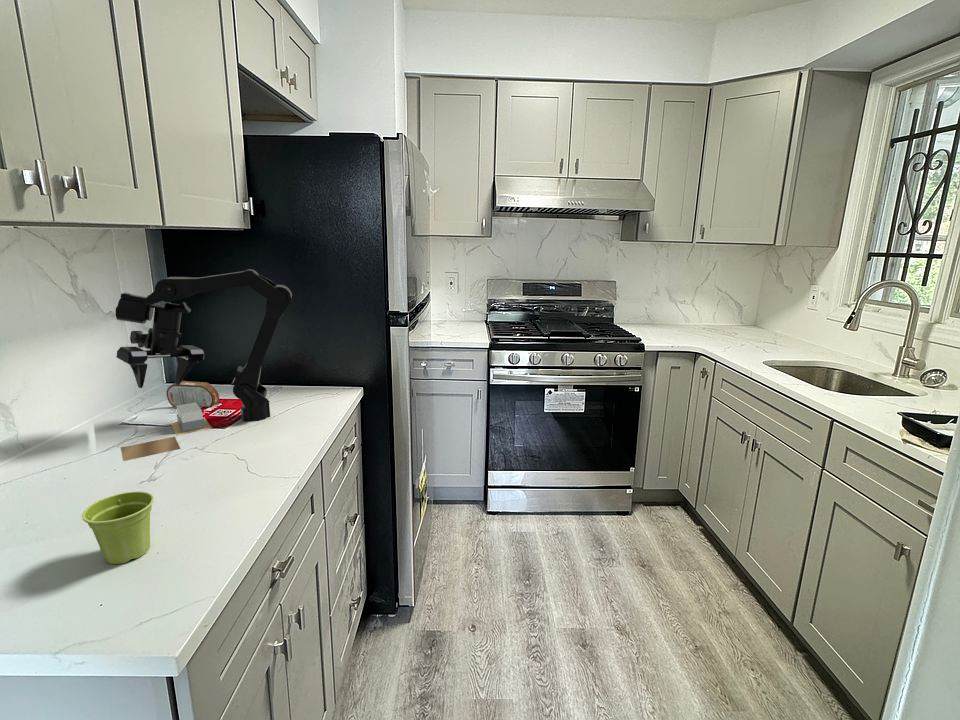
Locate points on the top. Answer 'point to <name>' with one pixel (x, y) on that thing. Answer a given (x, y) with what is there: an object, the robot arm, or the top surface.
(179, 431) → the oak stand
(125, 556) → the plant pot
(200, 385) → the tin
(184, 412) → the block
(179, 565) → the top surface
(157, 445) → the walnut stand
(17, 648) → the top surface
